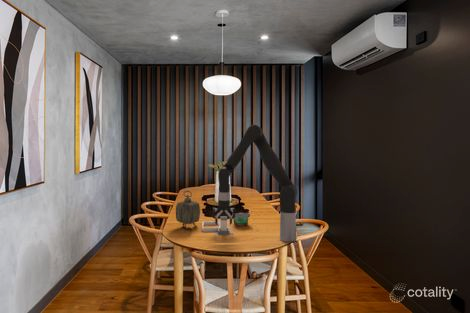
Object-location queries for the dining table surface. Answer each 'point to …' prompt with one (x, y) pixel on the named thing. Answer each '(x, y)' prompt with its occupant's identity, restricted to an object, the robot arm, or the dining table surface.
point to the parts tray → (210, 228)
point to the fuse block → (223, 232)
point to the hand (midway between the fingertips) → (223, 224)
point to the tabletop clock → (187, 211)
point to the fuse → (223, 223)
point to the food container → (241, 219)
